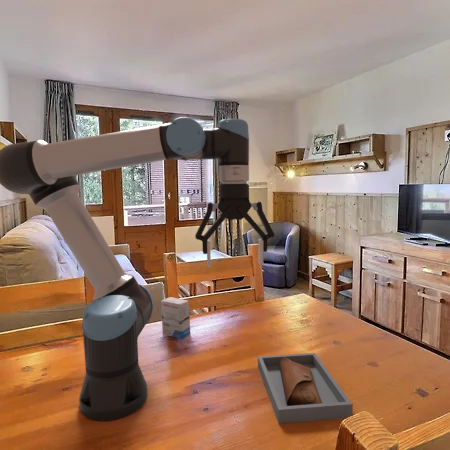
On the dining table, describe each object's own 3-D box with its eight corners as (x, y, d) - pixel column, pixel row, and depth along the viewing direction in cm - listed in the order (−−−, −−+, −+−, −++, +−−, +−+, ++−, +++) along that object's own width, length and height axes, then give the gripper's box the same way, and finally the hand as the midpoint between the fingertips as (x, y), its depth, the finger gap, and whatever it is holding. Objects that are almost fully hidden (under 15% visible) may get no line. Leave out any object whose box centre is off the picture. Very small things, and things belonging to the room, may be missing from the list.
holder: (278, 423, 74) (278, 409, 74) (257, 367, 97) (257, 356, 97) (352, 417, 76) (352, 404, 75) (314, 363, 98) (315, 352, 98)
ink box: (191, 334, 119) (190, 300, 117) (181, 339, 115) (180, 304, 113) (171, 328, 123) (170, 296, 122) (161, 334, 119) (160, 300, 118)
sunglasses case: (326, 409, 77) (311, 384, 76) (298, 424, 77) (282, 399, 77) (310, 366, 95) (297, 346, 94) (287, 379, 95) (274, 359, 95)
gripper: (184, 183, 85) (186, 270, 88) (286, 182, 87) (285, 266, 90) (184, 183, 92) (187, 263, 95) (278, 182, 95) (278, 260, 97)
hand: (235, 265), depth 92 cm, fingers open, 13 cm apart
